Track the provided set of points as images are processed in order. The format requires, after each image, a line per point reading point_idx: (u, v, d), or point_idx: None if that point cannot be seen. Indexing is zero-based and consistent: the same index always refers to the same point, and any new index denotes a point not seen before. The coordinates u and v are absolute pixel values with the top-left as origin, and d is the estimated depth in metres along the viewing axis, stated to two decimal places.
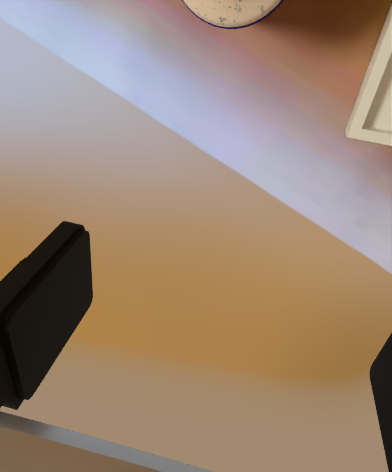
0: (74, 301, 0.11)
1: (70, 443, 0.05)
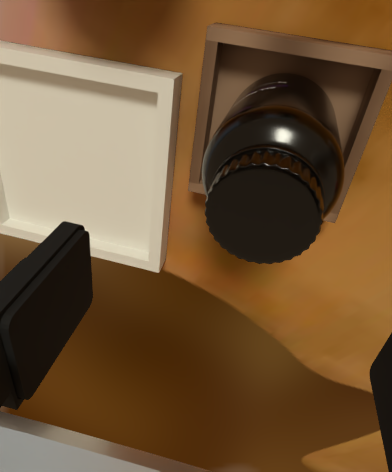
0: (74, 301, 0.11)
1: (71, 443, 0.05)
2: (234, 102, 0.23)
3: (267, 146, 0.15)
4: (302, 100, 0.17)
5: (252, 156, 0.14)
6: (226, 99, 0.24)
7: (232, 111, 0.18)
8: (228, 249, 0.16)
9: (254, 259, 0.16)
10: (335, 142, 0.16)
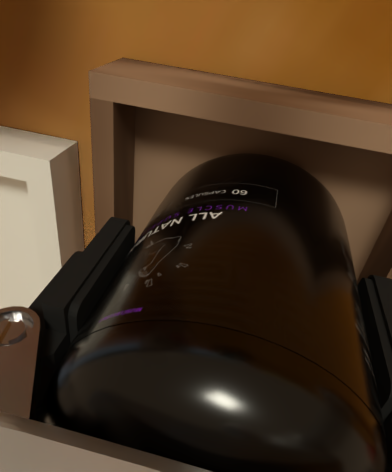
0: None
1: (71, 444, 0.05)
2: (158, 207, 0.12)
3: None
4: (278, 275, 0.07)
5: None
6: (152, 188, 0.14)
7: (119, 280, 0.08)
8: None
9: None
10: (370, 435, 0.06)
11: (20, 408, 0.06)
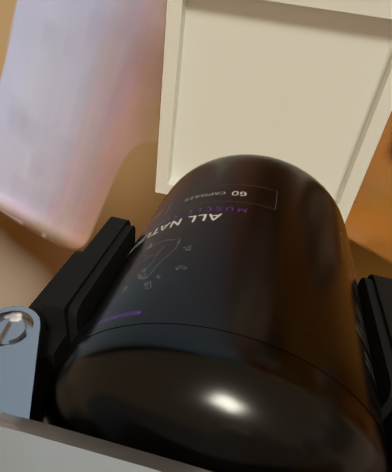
0: None
1: (71, 443, 0.05)
2: None
3: None
4: (278, 278, 0.07)
5: None
6: None
7: (118, 282, 0.08)
8: None
9: None
10: (371, 439, 0.06)
11: (20, 408, 0.06)
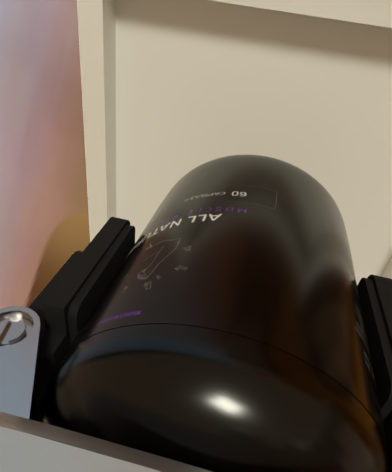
0: None
1: (70, 443, 0.05)
2: (157, 209, 0.12)
3: None
4: (278, 278, 0.07)
5: None
6: None
7: (118, 282, 0.08)
8: None
9: None
10: (370, 440, 0.06)
11: (20, 408, 0.06)
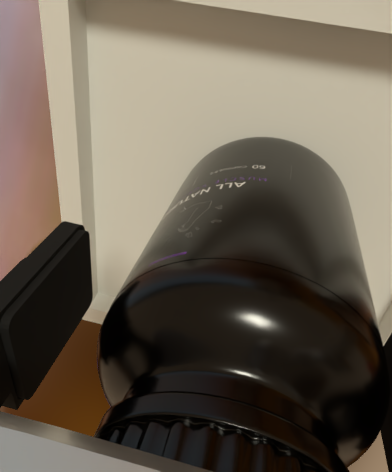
0: (74, 301, 0.11)
1: (71, 443, 0.05)
2: (181, 185, 0.13)
3: (210, 413, 0.06)
4: (297, 229, 0.08)
5: None
6: None
7: (159, 237, 0.09)
8: None
9: None
10: (374, 348, 0.07)
11: None
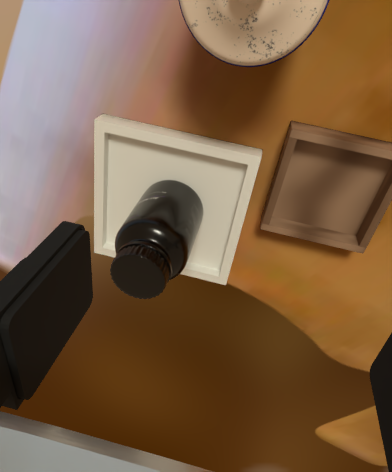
0: (74, 301, 0.11)
1: (71, 443, 0.05)
2: None
3: (140, 243, 0.30)
4: (167, 210, 0.33)
5: (131, 249, 0.30)
6: (292, 168, 0.35)
7: (132, 212, 0.34)
8: (124, 291, 0.31)
9: (137, 296, 0.31)
10: (179, 237, 0.32)
11: None
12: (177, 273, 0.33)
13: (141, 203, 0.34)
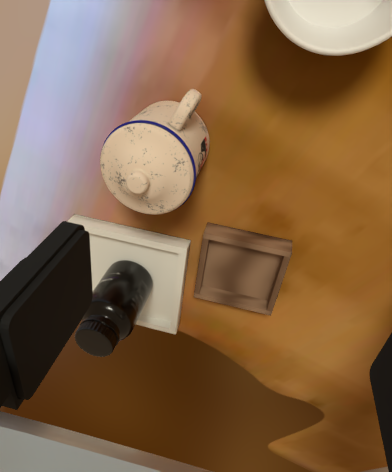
0: (74, 301, 0.11)
1: (71, 443, 0.05)
2: None
3: (94, 319, 0.43)
4: (117, 290, 0.45)
5: (88, 324, 0.42)
6: (213, 254, 0.47)
7: (93, 291, 0.46)
8: (86, 351, 0.44)
9: (95, 355, 0.44)
10: (124, 311, 0.44)
11: None
12: (126, 336, 0.46)
13: (101, 283, 0.47)
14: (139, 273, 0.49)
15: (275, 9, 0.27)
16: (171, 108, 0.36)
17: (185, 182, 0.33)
